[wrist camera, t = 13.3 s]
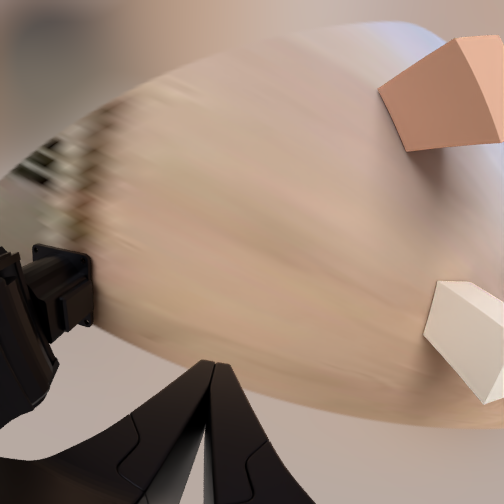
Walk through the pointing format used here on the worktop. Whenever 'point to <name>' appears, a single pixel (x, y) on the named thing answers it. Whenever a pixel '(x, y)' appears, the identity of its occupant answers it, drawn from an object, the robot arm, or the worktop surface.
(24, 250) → the worktop surface
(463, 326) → the white box
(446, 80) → the beige box
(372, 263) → the worktop surface
